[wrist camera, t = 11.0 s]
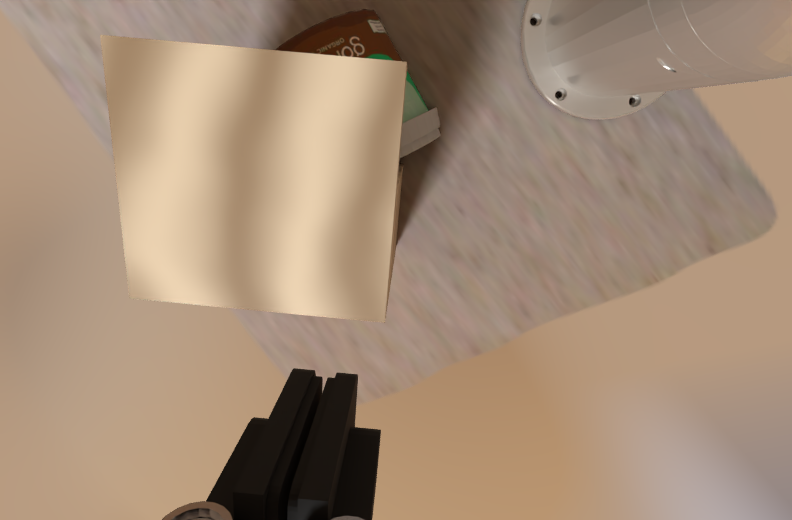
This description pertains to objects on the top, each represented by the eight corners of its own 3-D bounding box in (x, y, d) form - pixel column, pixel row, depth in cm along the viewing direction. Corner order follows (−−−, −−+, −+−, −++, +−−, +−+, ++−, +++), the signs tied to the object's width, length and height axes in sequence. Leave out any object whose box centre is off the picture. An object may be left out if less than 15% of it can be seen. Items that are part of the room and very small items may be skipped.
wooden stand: (410, 85, 34) (406, 61, 20) (396, 246, 38) (384, 322, 24) (231, 69, 34) (100, 35, 20) (235, 231, 38) (129, 298, 24)
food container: (389, -22, 27) (453, 134, 29) (394, 3, 32) (446, 131, 35) (218, 71, 29) (291, 209, 31) (251, 79, 34) (311, 195, 37)
